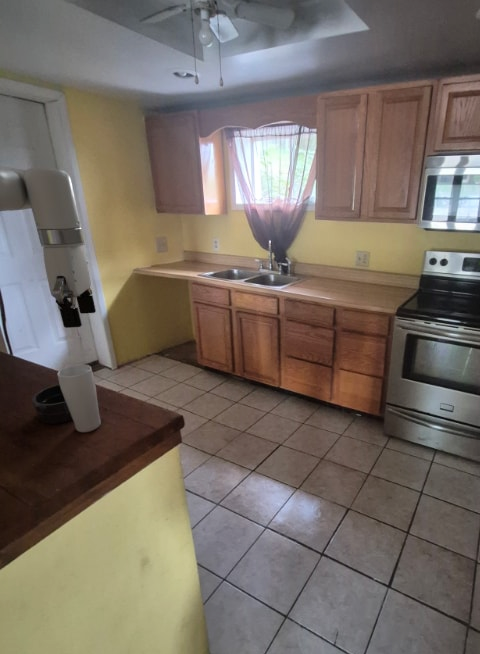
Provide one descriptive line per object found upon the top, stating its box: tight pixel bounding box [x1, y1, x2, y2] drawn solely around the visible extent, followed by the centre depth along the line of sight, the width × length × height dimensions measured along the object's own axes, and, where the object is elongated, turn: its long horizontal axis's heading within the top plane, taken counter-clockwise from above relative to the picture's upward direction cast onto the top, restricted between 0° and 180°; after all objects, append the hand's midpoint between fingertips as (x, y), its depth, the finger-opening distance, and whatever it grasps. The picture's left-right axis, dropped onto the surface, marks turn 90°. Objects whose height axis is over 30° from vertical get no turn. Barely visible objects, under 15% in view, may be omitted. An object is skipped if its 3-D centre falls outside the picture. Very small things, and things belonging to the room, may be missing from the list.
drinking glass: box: [56, 363, 102, 433], centre depth 85 cm, size 7×7×15 cm
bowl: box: [31, 383, 73, 425], centre depth 93 cm, size 11×11×6 cm
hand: (81, 319), depth 80 cm, fingers open, 9 cm apart
